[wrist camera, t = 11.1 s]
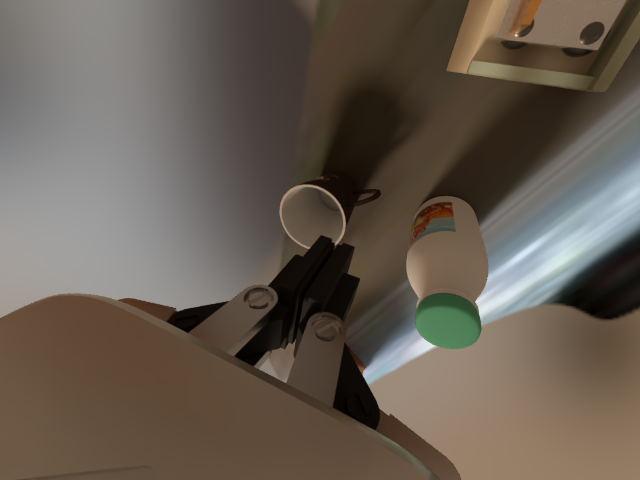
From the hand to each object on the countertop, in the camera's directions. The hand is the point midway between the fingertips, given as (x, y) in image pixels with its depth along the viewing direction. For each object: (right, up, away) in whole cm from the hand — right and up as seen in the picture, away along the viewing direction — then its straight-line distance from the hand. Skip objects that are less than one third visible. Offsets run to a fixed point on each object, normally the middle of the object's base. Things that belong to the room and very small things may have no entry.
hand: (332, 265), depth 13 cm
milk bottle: (+16, +4, +24) cm, 29 cm away
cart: (+20, +22, +10) cm, 32 cm away
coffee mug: (+3, +8, +27) cm, 28 cm away
